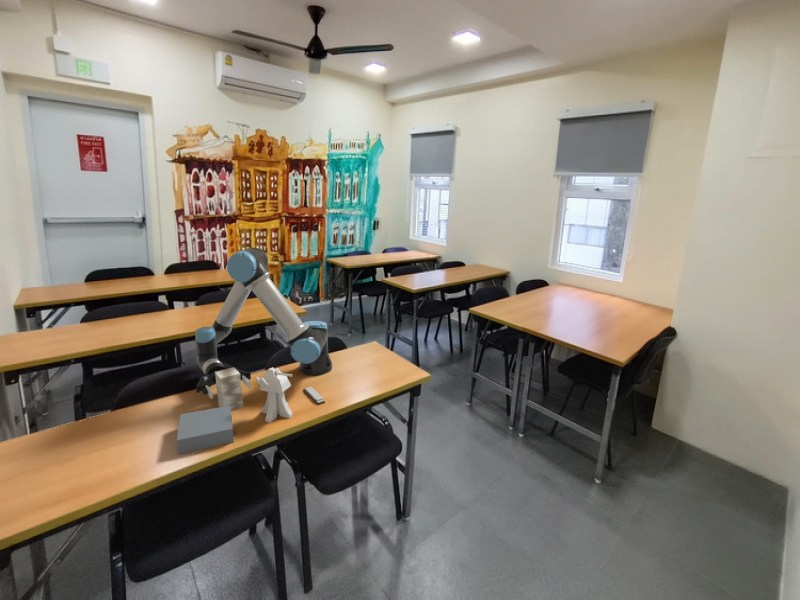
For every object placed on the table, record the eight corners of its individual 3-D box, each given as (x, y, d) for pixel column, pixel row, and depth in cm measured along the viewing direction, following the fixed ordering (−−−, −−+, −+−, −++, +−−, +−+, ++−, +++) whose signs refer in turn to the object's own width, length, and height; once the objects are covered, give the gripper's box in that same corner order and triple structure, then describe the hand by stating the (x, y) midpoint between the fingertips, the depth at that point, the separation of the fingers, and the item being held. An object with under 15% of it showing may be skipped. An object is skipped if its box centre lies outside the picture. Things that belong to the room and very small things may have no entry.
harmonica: (325, 403, 155) (325, 399, 154) (318, 406, 153) (317, 401, 152) (310, 389, 166) (310, 384, 166) (303, 391, 164) (303, 386, 164)
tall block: (237, 399, 155) (234, 367, 152) (243, 406, 150) (240, 373, 147) (218, 405, 151) (214, 371, 148) (224, 412, 146) (220, 378, 142)
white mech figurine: (285, 425, 139) (282, 379, 134) (253, 419, 142) (249, 373, 138) (302, 409, 150) (300, 365, 145) (272, 403, 153) (269, 360, 149)
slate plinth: (231, 417, 143) (230, 405, 142) (233, 442, 129) (232, 428, 128) (182, 427, 136) (180, 414, 135) (178, 454, 122) (176, 440, 121)
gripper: (245, 370, 171) (264, 389, 155) (182, 387, 156) (195, 409, 140) (244, 355, 169) (262, 372, 153) (180, 369, 154) (193, 390, 138)
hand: (230, 390), depth 147 cm, fingers open, 13 cm apart
